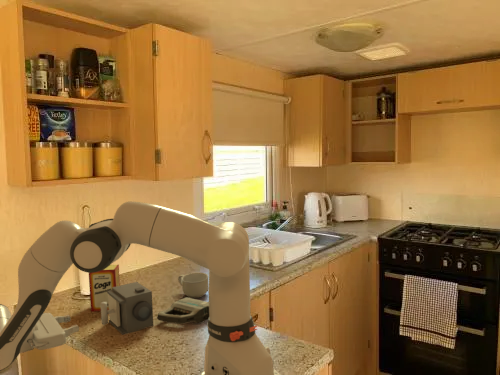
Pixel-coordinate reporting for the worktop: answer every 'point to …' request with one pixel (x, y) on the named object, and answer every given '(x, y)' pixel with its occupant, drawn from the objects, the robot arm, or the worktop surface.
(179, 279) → the teacup
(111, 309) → the door
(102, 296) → the baking soda box
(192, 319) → the grey flat handled device
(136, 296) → the camera box
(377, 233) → the worktop surface
